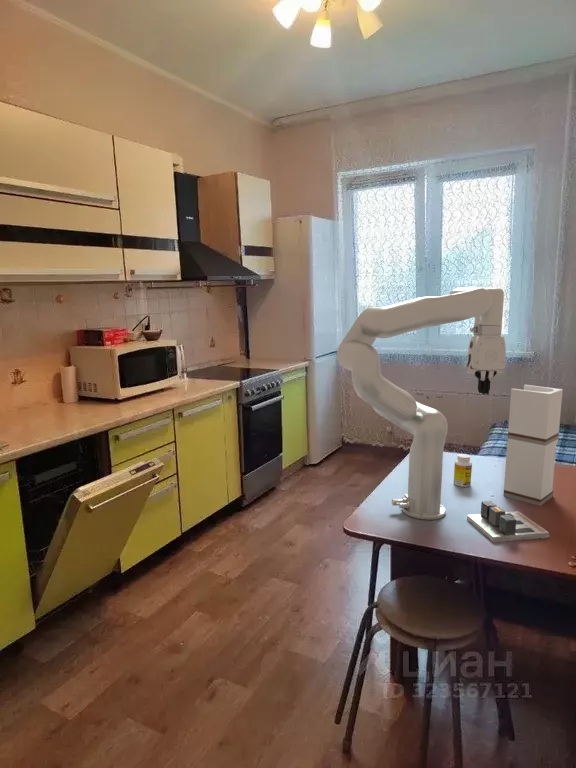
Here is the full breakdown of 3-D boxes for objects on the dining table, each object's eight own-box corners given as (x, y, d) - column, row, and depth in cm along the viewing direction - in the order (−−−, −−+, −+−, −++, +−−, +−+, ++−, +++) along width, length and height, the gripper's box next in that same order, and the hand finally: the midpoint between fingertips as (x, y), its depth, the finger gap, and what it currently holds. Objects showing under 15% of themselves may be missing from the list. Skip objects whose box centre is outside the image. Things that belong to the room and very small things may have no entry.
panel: (492, 542, 138) (494, 522, 137) (466, 519, 151) (468, 501, 151) (548, 537, 140) (550, 518, 139) (518, 516, 154) (519, 498, 153)
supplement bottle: (465, 488, 175) (467, 459, 173) (450, 484, 179) (452, 455, 177) (473, 484, 179) (475, 455, 177) (458, 480, 183) (460, 452, 181)
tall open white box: (552, 496, 169) (562, 389, 162) (540, 506, 161) (549, 393, 155) (517, 487, 177) (525, 384, 171) (503, 495, 169) (511, 388, 163)
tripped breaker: (494, 526, 143) (495, 511, 143) (488, 521, 146) (489, 506, 146) (504, 525, 144) (505, 510, 143) (498, 520, 147) (499, 506, 146)
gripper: (469, 332, 148) (466, 396, 151) (518, 331, 150) (514, 394, 153) (457, 330, 155) (453, 391, 158) (504, 329, 157) (499, 390, 161)
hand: (483, 393), depth 156 cm, fingers closed
